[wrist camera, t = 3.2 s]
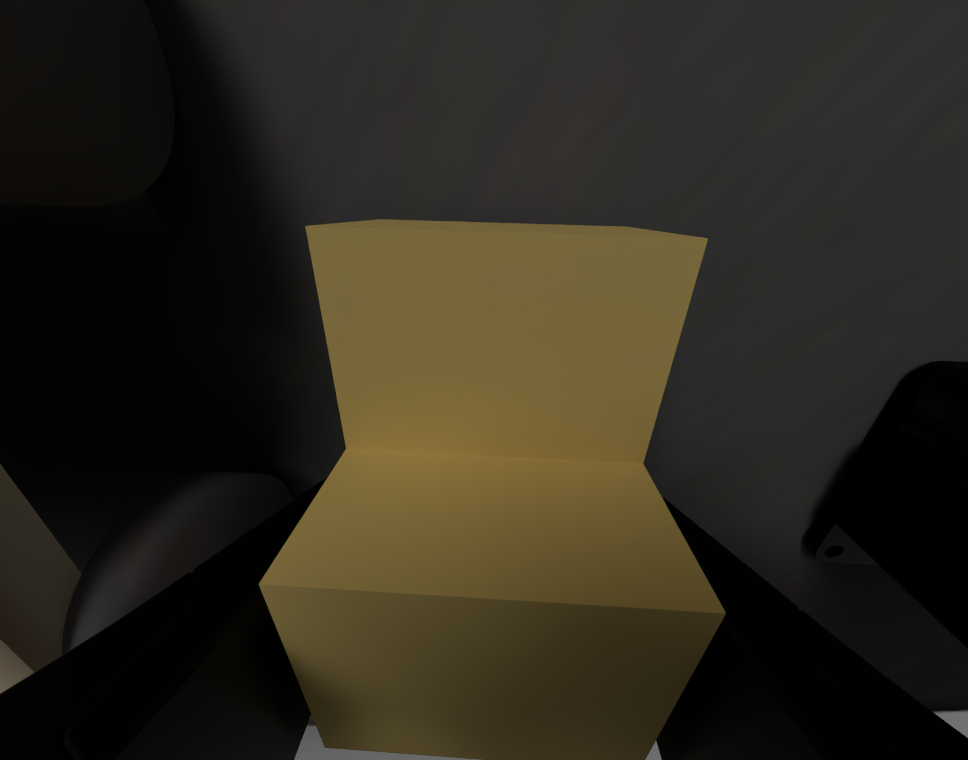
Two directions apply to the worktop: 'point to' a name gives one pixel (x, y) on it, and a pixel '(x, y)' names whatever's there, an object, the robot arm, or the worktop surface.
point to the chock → (495, 495)
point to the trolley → (85, 183)
